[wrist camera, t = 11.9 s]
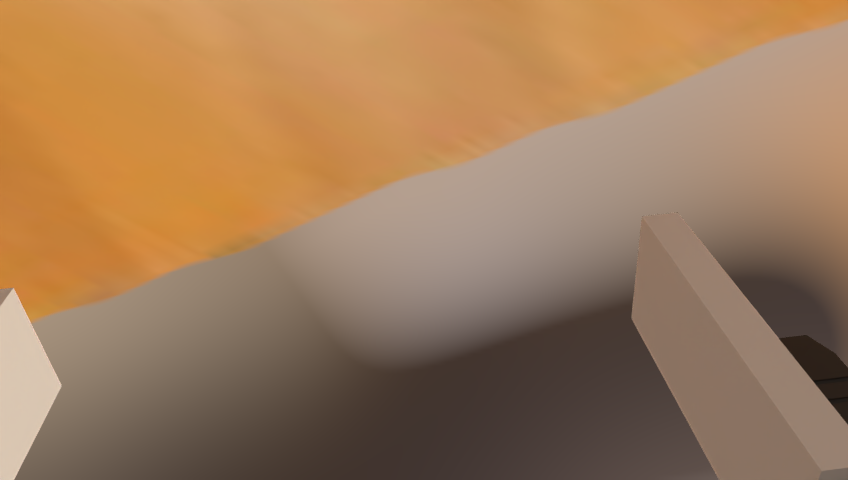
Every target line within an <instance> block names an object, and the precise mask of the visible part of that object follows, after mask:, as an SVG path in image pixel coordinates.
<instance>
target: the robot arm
mask: <svg viewBox="0 0 848 480" xmlns="http://www.w3.org/2000/svg"><path fill="white" fill-rule="evenodd" d="M632 320H633V322H634V324H635V326H636V327H637V329H638V331H639V333H640V335H641V337H642V339H643V341H644V342H645V344H646V346H647V348H648V350H649V352H650V353H651V355H652V357H653V359H654V361H655V362H656V364H657V366H658V368H659V370H660V372H661V374H662V375H663V377H664V379H665V381H666V383H667V385H668V387H669V388H670V390H671V392H672V394H673V396H674V397H675V399H676V401H677V403H678V405H679V407H680V409H681V410H682V412H683V414H684V416H685V418H686V420H687V422H688V423H689V425H690V427H691V429H692V431H693V432H694V434H695V436H696V438H697V440H698V442H699V444H700V445H701V447H702V449H703V451H704V453H705V455H706V456H707V458H708V460H709V462H710V464H711V466H712V467H713V469H714V471H715V473H716V475H717V477H718V478H719V480H848V368H847V366H846V365H845V364H844V363H843V362H842V361H841V360H840V358H839V357H838V356H837V355H836V354H835V353H834V352H832V351H831V350H829V349H827V348H826V347H824V346H823V345H821V344H819V343H818V342H816V341H815V340H813V339H812V338H810V337H809V336H807V335H803V336H794V337H786V338H778V337H777V336H776V335H775V333H774V332H773V331H772V330H771V328H770V327H769V326H768V325H767V323H766V322H765V321H764V320H763V318H762V317H761V316H760V315H759V313H758V312H757V311H756V310H755V308H754V307H753V306H752V305H751V303H750V302H749V301H748V300H747V298H746V297H745V296H744V295H743V293H742V292H741V291H740V290H739V288H738V287H737V286H736V285H735V284H734V282H733V281H732V280H731V278H730V277H729V276H728V275H727V273H726V272H725V271H724V270H723V268H722V267H721V266H720V265H719V263H718V262H717V261H716V260H715V258H714V257H713V256H712V255H711V254H710V252H709V251H708V250H707V248H706V247H705V246H704V245H703V243H702V242H701V241H700V240H699V238H698V237H697V236H696V235H695V233H694V232H693V231H692V230H691V228H690V227H689V226H688V225H687V223H686V222H685V221H684V220H683V218H682V217H681V216H680V215H679V213H678V212H676V213H666V214H657V215H649V216H642V220H641V230H640V240H639V251H638V260H637V270H636V279H635V289H634V299H633V309H632ZM60 388H61V383H60V382H59V379H58V377H57V375H56V373H55V371H54V369H53V367H52V366H51V363H50V361H49V359H48V358H47V355H46V353H45V351H44V349H43V347H42V345H41V343H40V341H39V339H38V337H37V335H36V333H35V331H34V329H33V327H32V325H31V322H30V320H29V318H28V316H27V314H26V312H25V310H24V308H23V306H22V304H21V302H20V300H19V298H18V296H17V294H16V292H15V290H14V288H8V289H0V480H14V479H15V477H16V475H17V473H18V471H19V469H20V467H21V465H22V463H23V461H24V459H25V457H26V455H27V453H28V451H29V449H30V447H31V445H32V443H33V441H34V439H35V437H36V435H37V433H38V431H39V429H40V427H41V425H42V423H43V422H44V419H45V417H46V415H47V414H48V412H49V410H50V408H51V406H52V403H53V402H54V400H55V398H56V396H57V394H58V392H59V390H60Z"/></svg>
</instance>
